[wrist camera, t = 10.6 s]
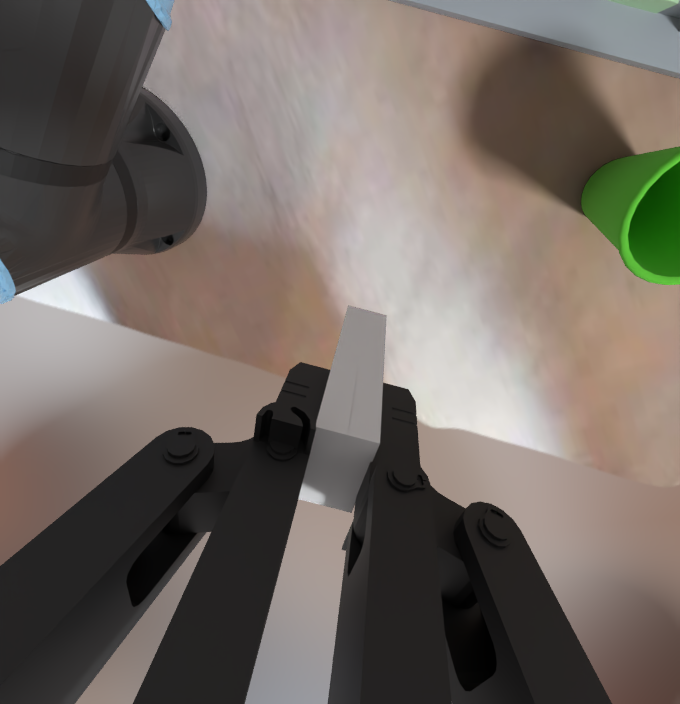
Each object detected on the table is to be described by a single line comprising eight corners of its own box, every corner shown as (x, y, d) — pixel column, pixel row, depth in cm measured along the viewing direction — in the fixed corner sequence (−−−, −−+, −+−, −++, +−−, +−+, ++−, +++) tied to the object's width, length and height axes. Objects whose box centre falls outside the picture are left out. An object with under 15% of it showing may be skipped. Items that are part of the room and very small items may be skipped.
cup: (552, 155, 30) (622, 165, 21) (680, 111, 28) (825, 100, 18) (557, 255, 34) (617, 300, 25) (669, 225, 32) (782, 263, 22)
